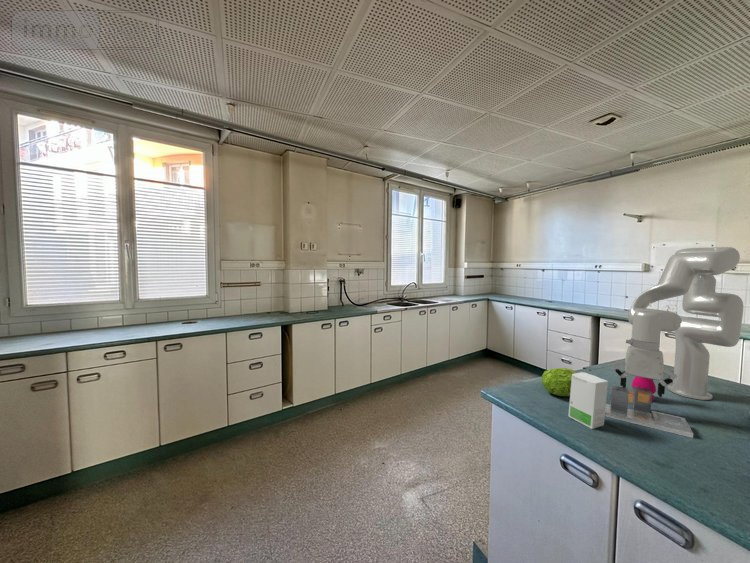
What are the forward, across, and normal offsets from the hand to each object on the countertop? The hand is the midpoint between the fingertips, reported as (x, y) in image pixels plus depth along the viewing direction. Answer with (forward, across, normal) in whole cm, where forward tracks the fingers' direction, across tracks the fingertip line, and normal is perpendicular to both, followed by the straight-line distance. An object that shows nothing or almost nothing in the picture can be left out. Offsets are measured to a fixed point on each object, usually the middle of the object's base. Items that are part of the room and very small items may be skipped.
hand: (641, 391), depth 106 cm
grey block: (+7, 0, +1) cm, 7 cm away
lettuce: (+8, -23, +4) cm, 24 cm away
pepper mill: (+7, +2, +15) cm, 17 cm away
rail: (+7, 0, -8) cm, 11 cm away
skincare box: (+8, -16, -20) cm, 27 cm away
